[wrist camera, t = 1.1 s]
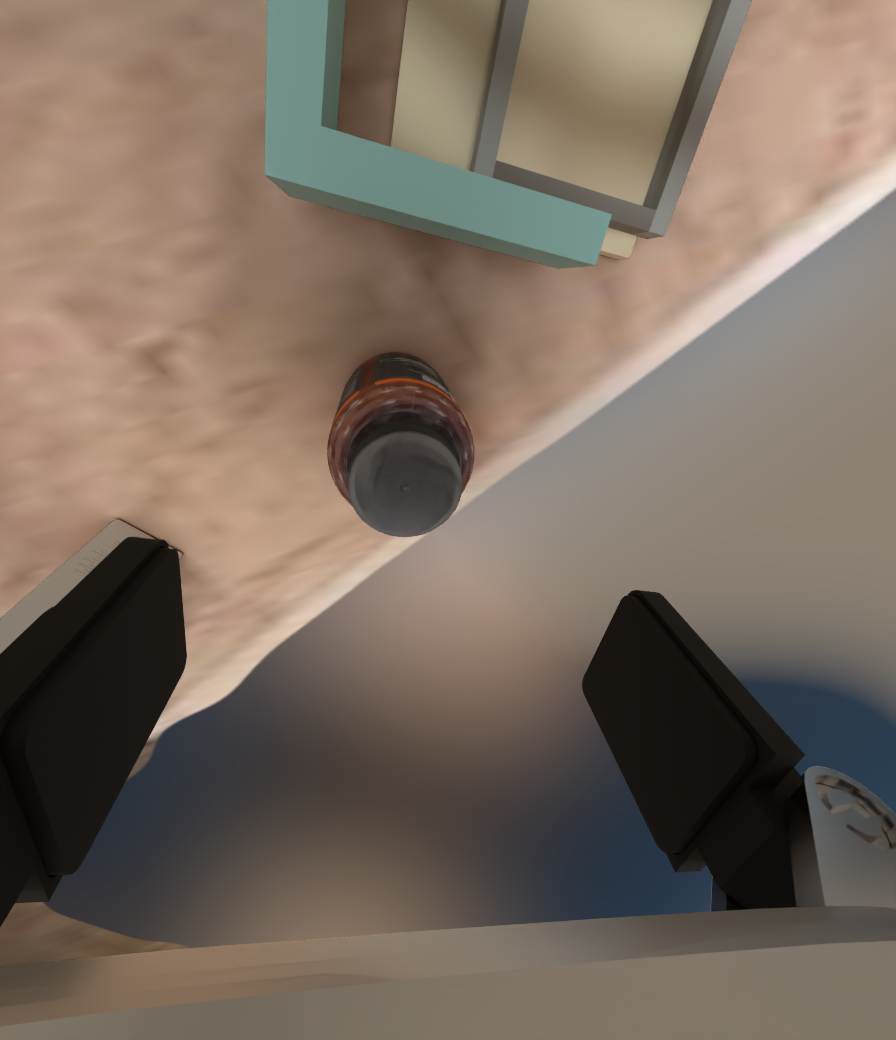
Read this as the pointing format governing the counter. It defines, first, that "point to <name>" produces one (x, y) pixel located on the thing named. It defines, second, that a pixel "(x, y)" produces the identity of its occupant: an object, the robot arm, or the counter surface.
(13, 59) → the counter surface
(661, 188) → the housing base
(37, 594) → the skincare box
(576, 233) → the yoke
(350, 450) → the supplement bottle
